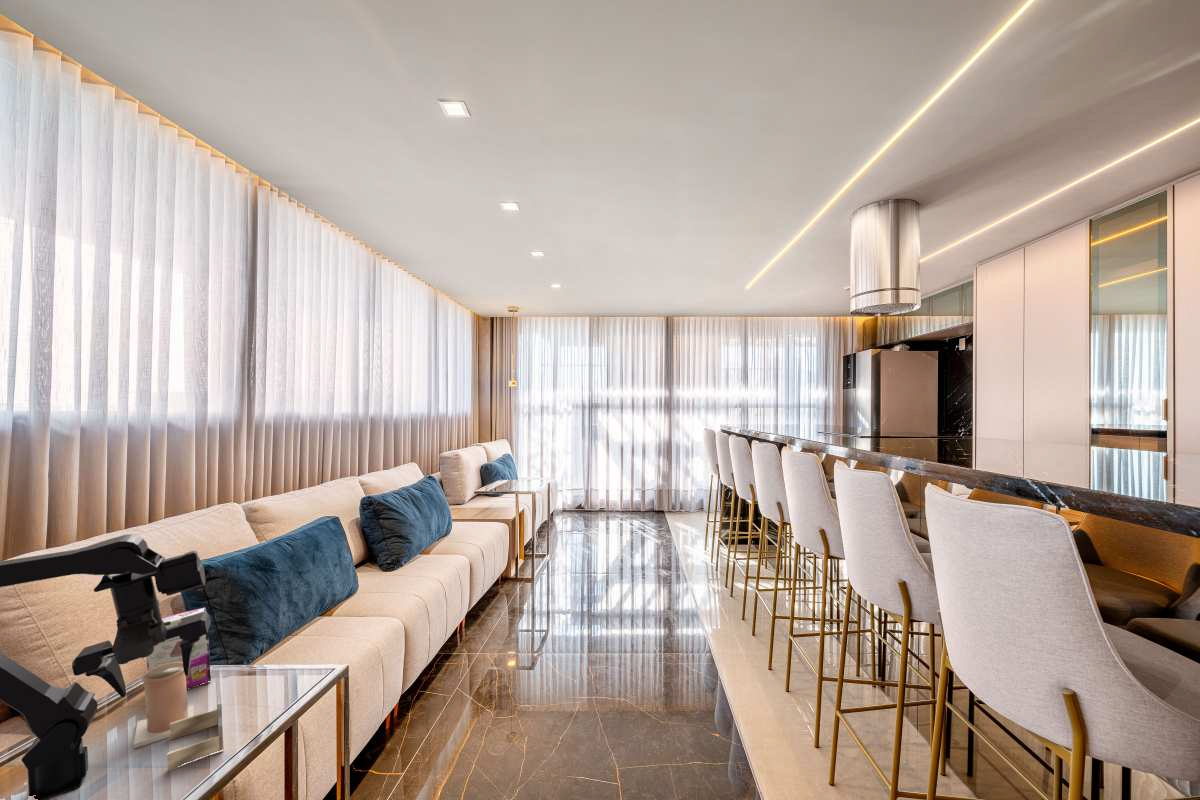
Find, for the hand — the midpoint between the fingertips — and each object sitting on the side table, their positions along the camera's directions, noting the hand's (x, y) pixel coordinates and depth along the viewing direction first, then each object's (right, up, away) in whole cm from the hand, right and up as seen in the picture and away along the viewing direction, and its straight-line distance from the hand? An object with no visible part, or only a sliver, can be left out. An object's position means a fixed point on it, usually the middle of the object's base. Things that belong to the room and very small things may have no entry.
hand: (156, 684), depth 98 cm
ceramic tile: (-5, -13, +9) cm, 17 cm away
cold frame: (+4, -13, +2) cm, 14 cm away
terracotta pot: (-5, -12, +9) cm, 16 cm away
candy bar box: (-14, -13, +23) cm, 30 cm away
